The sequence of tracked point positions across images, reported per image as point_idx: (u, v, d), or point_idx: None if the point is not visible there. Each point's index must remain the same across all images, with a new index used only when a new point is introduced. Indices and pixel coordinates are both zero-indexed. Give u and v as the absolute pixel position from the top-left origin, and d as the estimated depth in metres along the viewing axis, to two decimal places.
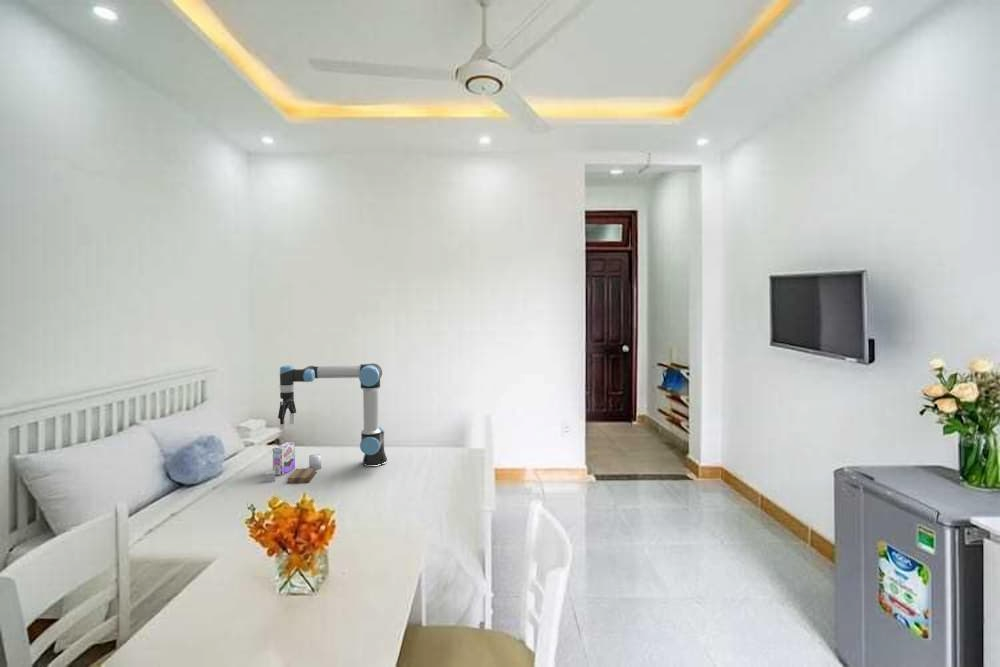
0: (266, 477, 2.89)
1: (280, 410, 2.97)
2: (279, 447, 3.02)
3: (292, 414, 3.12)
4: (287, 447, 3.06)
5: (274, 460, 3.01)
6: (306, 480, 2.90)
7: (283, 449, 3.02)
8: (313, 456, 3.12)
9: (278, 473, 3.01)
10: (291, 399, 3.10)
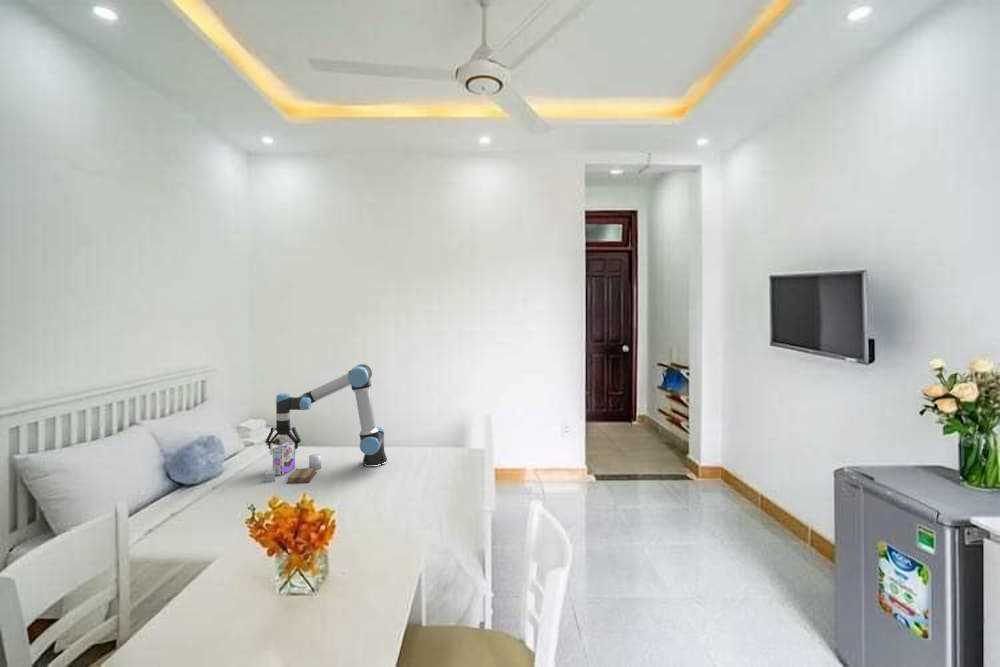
0: (266, 477, 2.89)
1: (269, 435, 3.06)
2: (279, 447, 3.02)
3: None
4: (287, 447, 3.06)
5: (274, 460, 3.01)
6: (306, 480, 2.90)
7: (283, 449, 3.02)
8: (313, 456, 3.12)
9: (278, 473, 3.01)
10: None
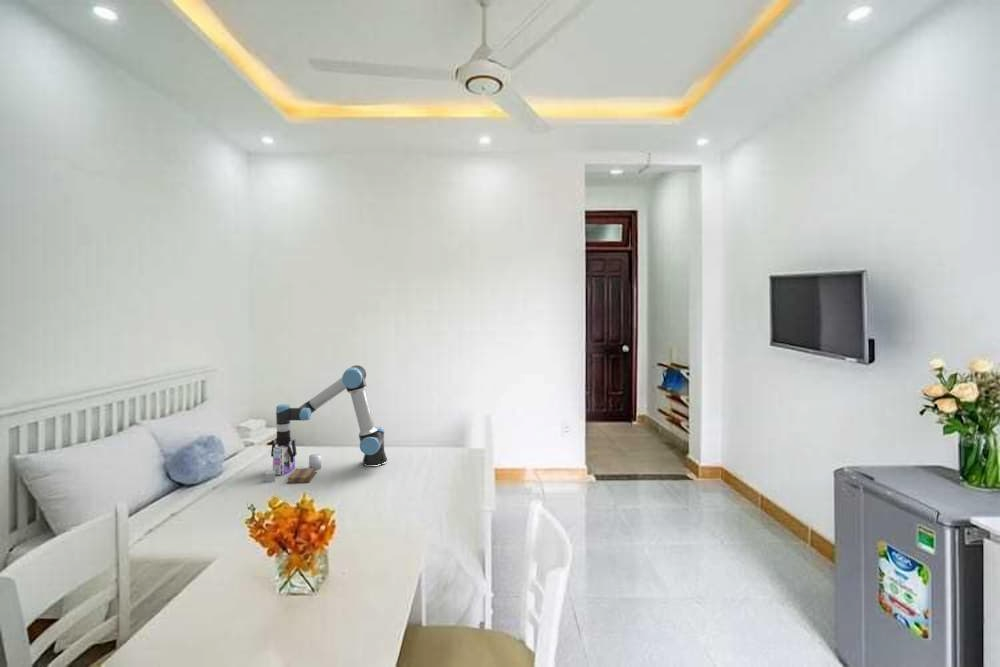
0: (266, 477, 2.89)
1: None
2: (279, 447, 3.02)
3: None
4: (287, 447, 3.06)
5: (274, 460, 3.01)
6: (306, 480, 2.90)
7: (283, 449, 3.02)
8: (313, 456, 3.12)
9: (278, 473, 3.01)
10: (292, 441, 3.07)
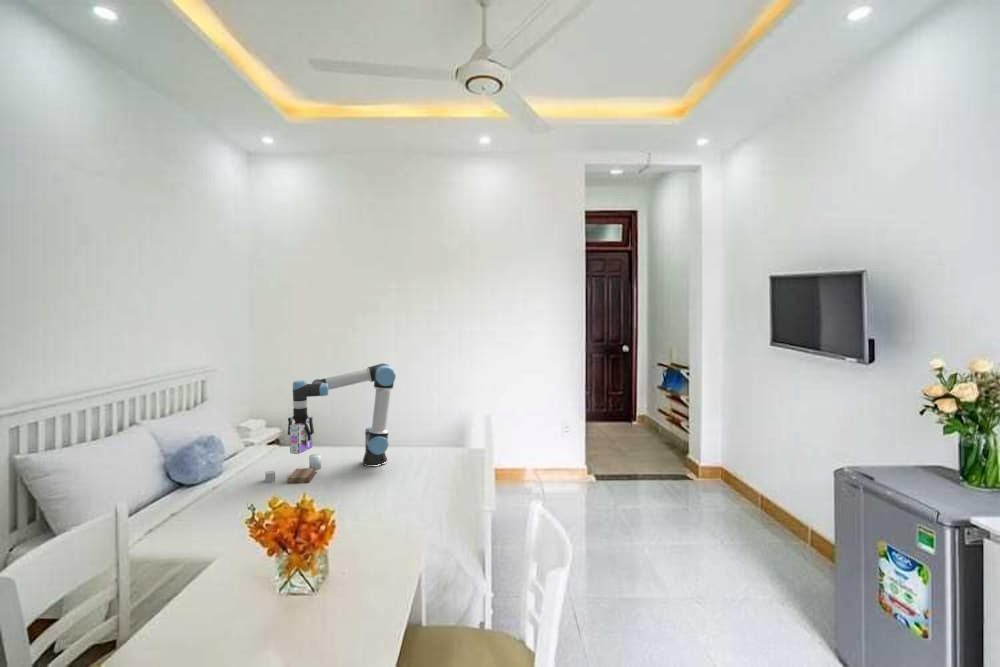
0: (266, 477, 2.89)
1: None
2: (296, 424, 2.91)
3: None
4: (304, 425, 2.94)
5: (291, 438, 2.90)
6: (306, 480, 2.90)
7: (300, 426, 2.91)
8: (313, 456, 3.12)
9: (295, 451, 2.90)
10: (309, 418, 2.95)
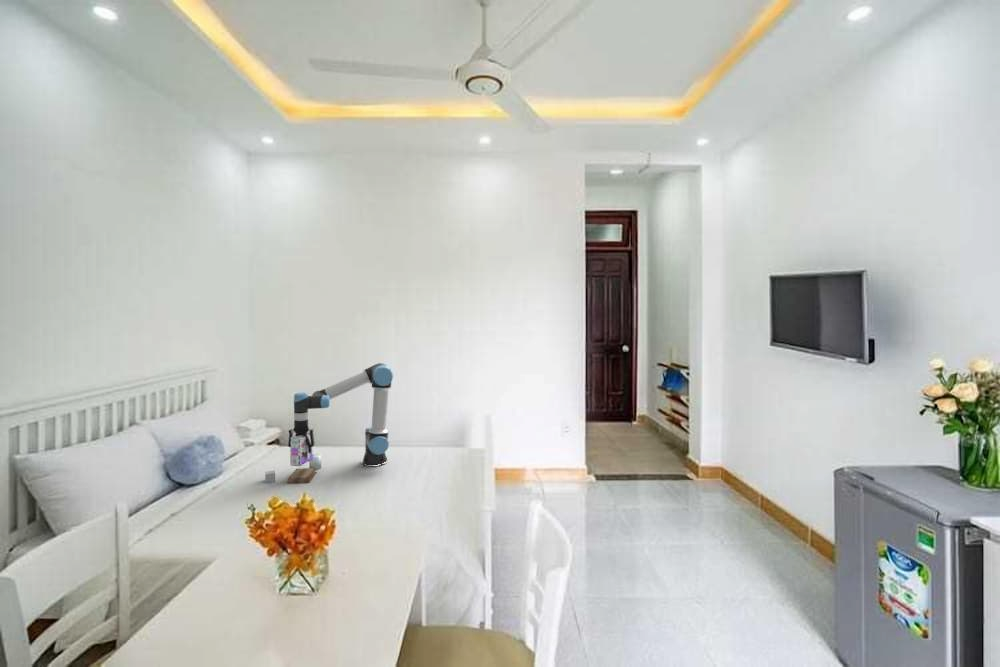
0: (266, 477, 2.89)
1: None
2: (297, 437, 2.91)
3: None
4: (305, 437, 2.94)
5: (292, 450, 2.90)
6: (306, 480, 2.90)
7: (301, 439, 2.91)
8: (313, 456, 3.12)
9: (296, 464, 2.90)
10: (310, 430, 2.95)
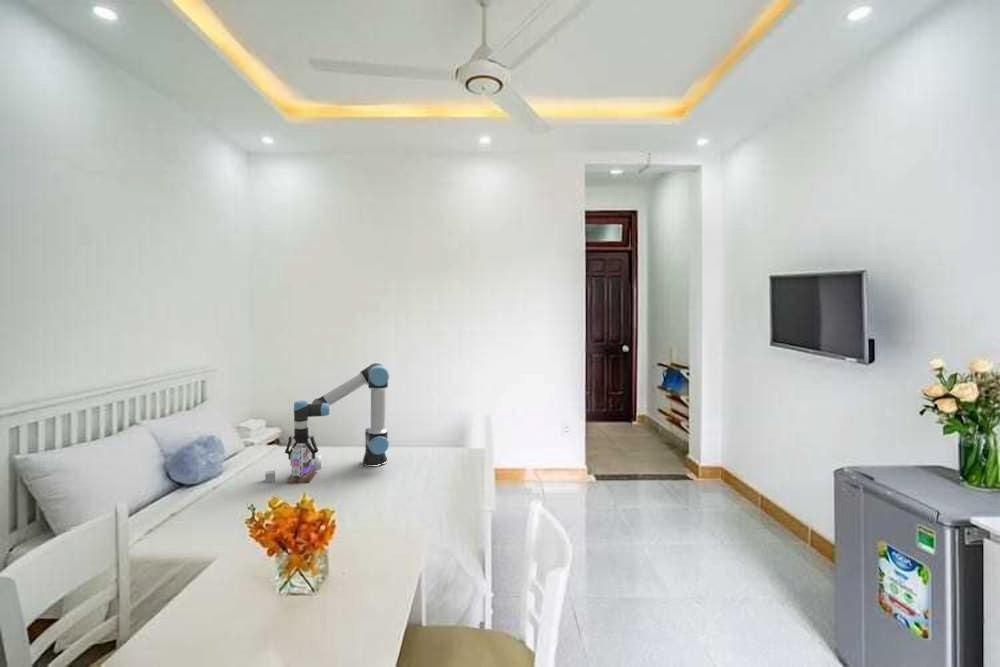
0: (266, 477, 2.89)
1: None
2: (298, 447, 2.91)
3: None
4: (306, 447, 2.95)
5: (293, 461, 2.90)
6: (306, 480, 2.90)
7: (302, 449, 2.91)
8: None
9: (297, 474, 2.90)
10: (310, 437, 2.96)
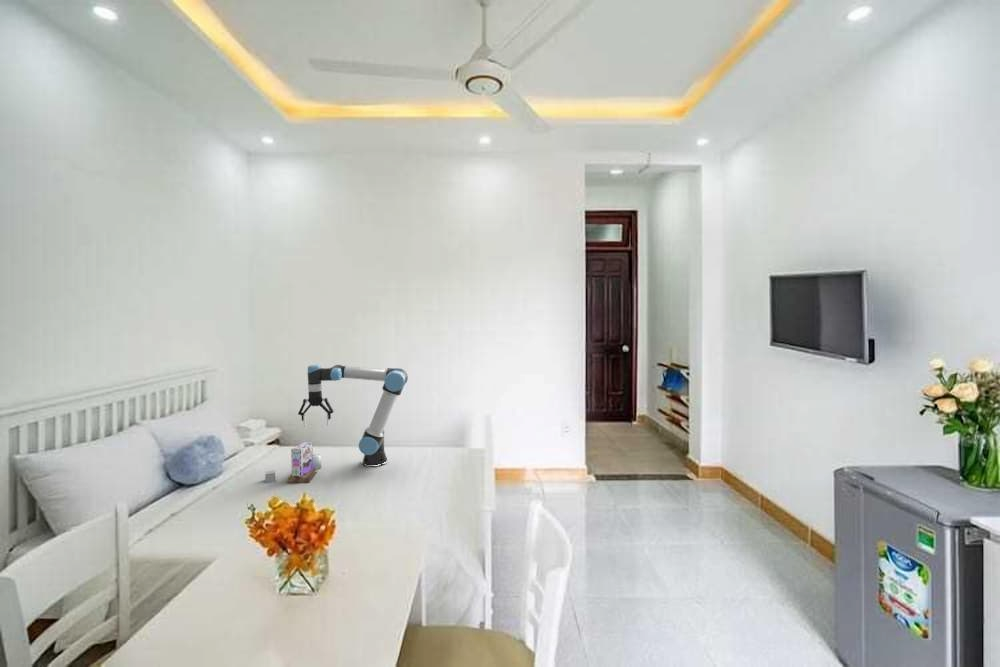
0: (266, 477, 2.89)
1: None
2: (298, 447, 2.91)
3: None
4: (306, 447, 2.95)
5: (293, 461, 2.90)
6: (306, 480, 2.90)
7: (302, 449, 2.91)
8: (313, 456, 3.12)
9: (297, 474, 2.90)
10: (324, 399, 3.08)
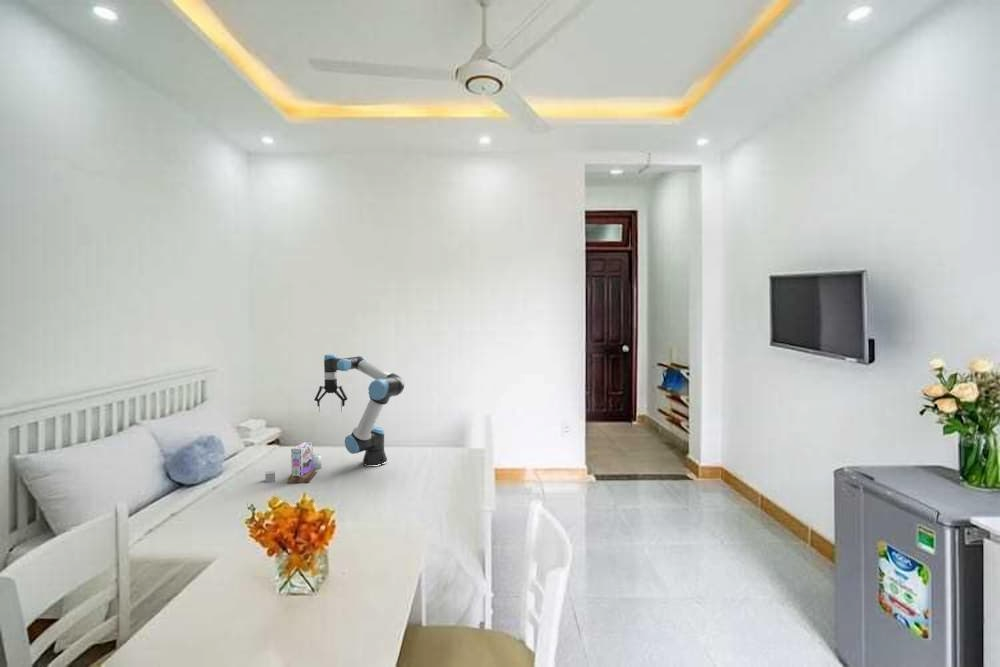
0: (266, 477, 2.89)
1: (317, 393, 3.25)
2: (298, 447, 2.91)
3: None
4: (306, 447, 2.95)
5: (293, 461, 2.90)
6: (306, 480, 2.90)
7: (302, 449, 2.91)
8: (313, 456, 3.12)
9: (297, 474, 2.90)
10: None
